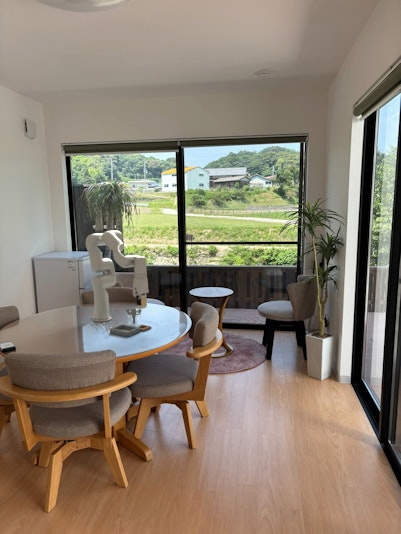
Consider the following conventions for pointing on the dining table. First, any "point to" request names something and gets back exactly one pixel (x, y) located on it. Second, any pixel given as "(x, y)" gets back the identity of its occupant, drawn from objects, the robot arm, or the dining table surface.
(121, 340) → the dining table surface
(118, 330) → the parts tray
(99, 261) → the robot arm
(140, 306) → the block
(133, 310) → the mechanical component
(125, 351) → the dining table surface
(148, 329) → the brown flat square frame
